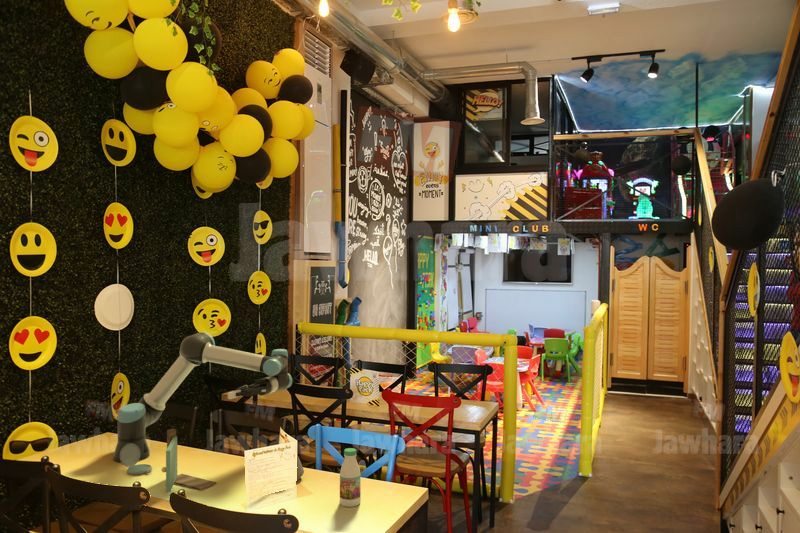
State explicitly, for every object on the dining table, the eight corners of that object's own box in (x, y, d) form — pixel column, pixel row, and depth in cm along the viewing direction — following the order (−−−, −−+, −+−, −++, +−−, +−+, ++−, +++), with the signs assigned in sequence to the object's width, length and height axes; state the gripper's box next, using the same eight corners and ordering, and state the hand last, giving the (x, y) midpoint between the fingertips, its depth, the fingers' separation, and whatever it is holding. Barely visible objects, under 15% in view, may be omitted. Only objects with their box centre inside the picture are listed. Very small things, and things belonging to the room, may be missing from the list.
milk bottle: (339, 499, 228) (339, 446, 228) (360, 498, 229) (360, 446, 228) (339, 507, 220) (339, 453, 220) (360, 507, 221) (360, 452, 221)
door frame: (162, 480, 247) (162, 431, 247) (177, 474, 254) (177, 427, 254) (201, 490, 237) (201, 439, 236) (216, 484, 244) (216, 434, 243)
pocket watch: (138, 440, 266) (160, 445, 259) (138, 465, 266) (160, 471, 259) (117, 446, 258) (139, 452, 250) (117, 472, 258) (139, 478, 250)
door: (168, 475, 250) (168, 436, 249) (177, 474, 250) (177, 436, 250) (160, 492, 231) (160, 451, 231) (170, 492, 231) (170, 450, 231)
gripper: (277, 395, 277) (240, 406, 256) (255, 392, 283) (217, 402, 263) (277, 379, 277) (240, 388, 256) (255, 376, 283) (217, 385, 263)
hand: (229, 395), depth 259 cm, fingers closed
